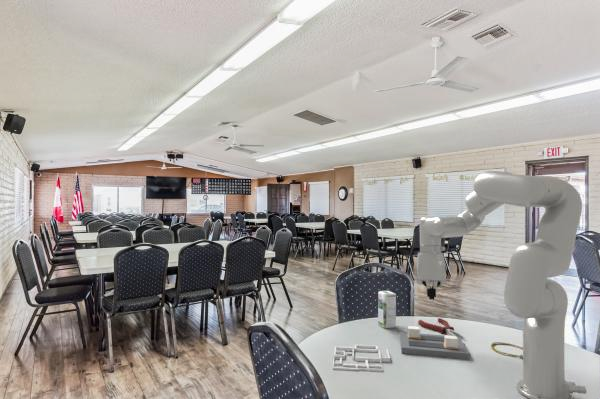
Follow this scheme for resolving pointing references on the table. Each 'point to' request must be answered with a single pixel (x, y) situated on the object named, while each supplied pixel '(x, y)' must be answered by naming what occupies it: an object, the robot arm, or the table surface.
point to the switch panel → (431, 346)
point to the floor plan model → (359, 358)
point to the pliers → (443, 330)
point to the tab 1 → (413, 331)
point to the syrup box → (386, 309)
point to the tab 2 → (451, 341)
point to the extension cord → (507, 353)
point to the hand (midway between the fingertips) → (431, 298)
